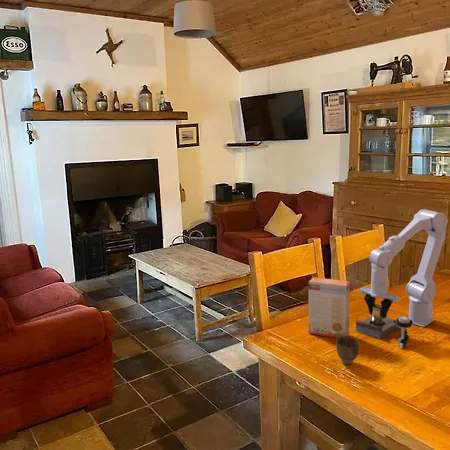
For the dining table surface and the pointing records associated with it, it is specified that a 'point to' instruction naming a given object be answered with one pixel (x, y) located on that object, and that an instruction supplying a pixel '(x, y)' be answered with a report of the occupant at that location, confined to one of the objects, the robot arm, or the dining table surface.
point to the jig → (376, 327)
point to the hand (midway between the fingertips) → (377, 315)
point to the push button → (403, 330)
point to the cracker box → (329, 307)
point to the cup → (347, 349)
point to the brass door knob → (377, 314)
